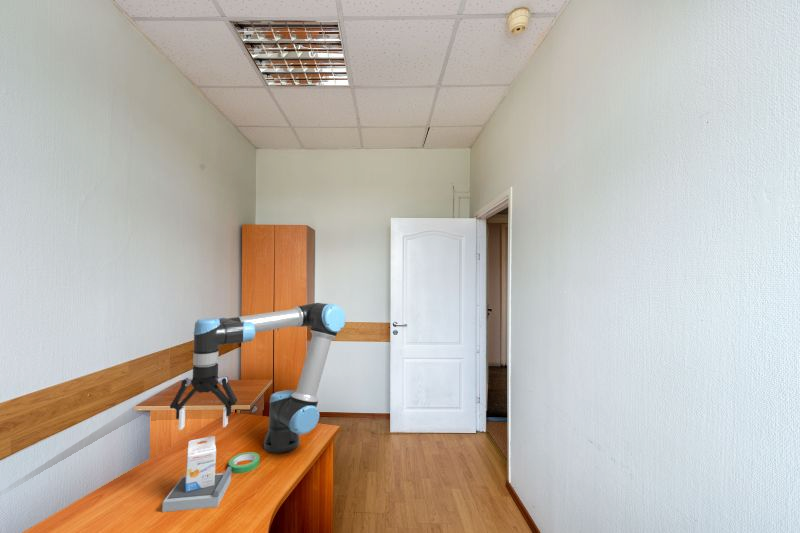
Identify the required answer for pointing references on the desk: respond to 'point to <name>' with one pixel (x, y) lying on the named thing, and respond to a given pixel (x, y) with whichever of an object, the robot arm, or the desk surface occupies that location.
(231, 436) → the desk surface
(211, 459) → the ink box
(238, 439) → the desk surface
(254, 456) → the tape roll
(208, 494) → the dock
